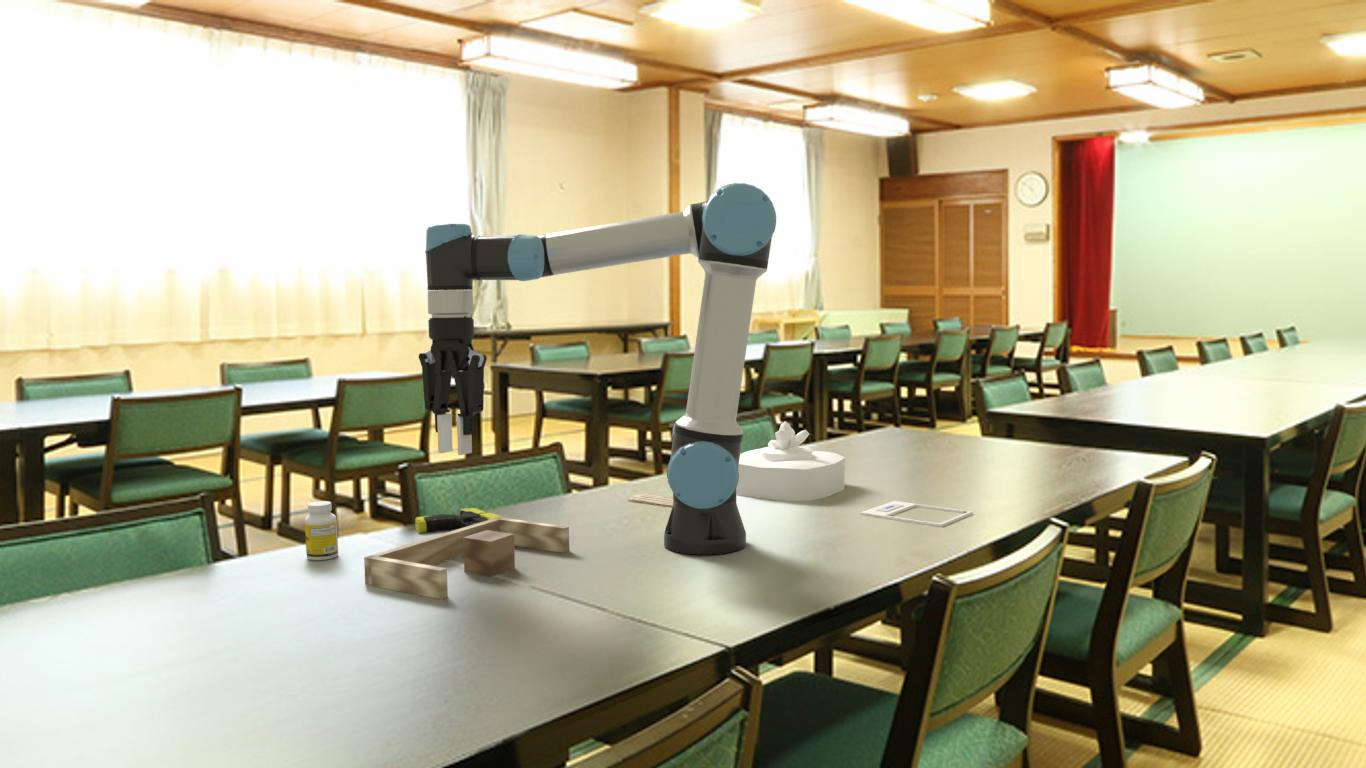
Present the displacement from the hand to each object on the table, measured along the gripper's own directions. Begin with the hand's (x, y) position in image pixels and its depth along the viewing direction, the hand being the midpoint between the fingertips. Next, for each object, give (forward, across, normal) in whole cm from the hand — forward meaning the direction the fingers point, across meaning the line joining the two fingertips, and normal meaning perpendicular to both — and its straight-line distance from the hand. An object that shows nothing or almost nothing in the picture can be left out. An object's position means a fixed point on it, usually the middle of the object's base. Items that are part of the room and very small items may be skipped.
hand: (455, 452), depth 180 cm
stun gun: (+20, +16, -19) cm, 32 cm away
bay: (+20, -3, 0) cm, 20 cm away
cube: (+20, -7, 0) cm, 21 cm away
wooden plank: (+21, -9, -60) cm, 64 cm away
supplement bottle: (+20, +25, +8) cm, 33 cm away
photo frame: (+20, -57, -75) cm, 96 cm away
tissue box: (+20, -22, -87) cm, 92 cm away
